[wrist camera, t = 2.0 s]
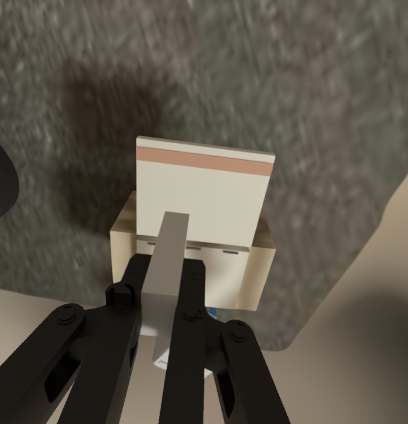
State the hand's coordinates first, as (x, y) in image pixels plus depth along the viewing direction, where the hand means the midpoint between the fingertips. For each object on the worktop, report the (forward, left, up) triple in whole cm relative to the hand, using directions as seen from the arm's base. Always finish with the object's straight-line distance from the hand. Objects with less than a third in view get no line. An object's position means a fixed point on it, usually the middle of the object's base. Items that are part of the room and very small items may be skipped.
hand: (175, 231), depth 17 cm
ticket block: (+2, -12, -19) cm, 23 cm away
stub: (+2, -2, -9) cm, 10 cm away
